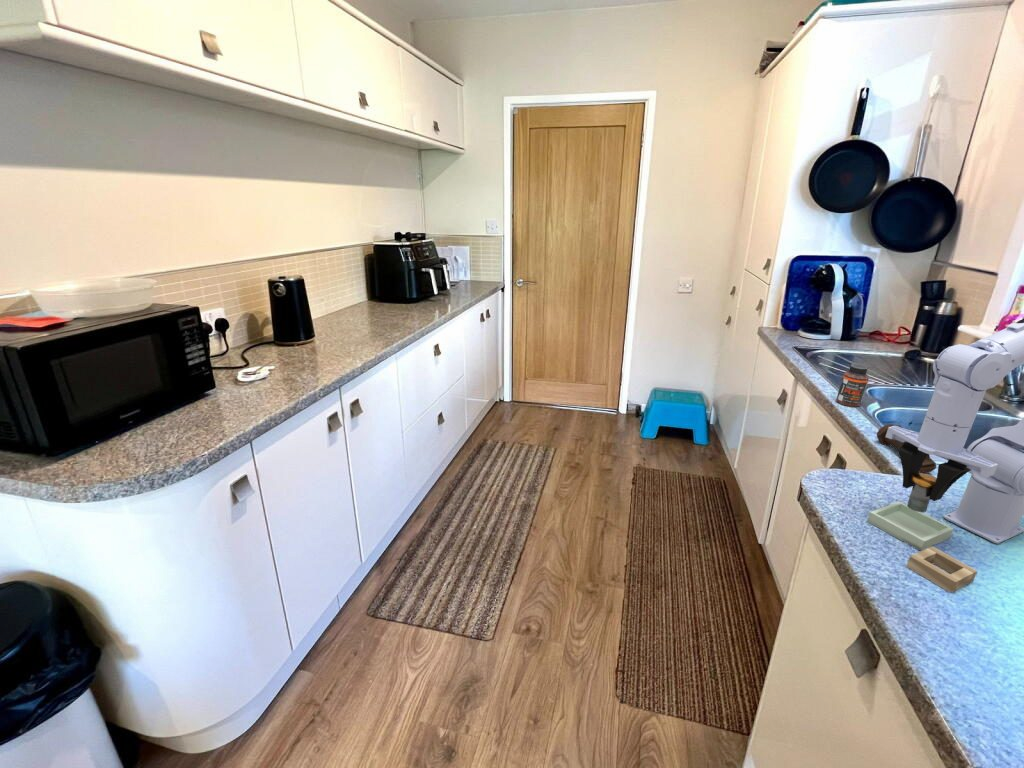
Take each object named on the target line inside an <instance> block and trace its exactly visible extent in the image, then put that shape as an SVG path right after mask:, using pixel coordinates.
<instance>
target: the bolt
mask: <svg viewBox="0 0 1024 768" xmlns="http://www.w3.org/2000/svg"><path fill="white" fill-rule="evenodd" d="M892 426H898V427H901V428H903V426H901V425H898V424H894V423H893V424H892V423H890V424H885V425H883V426H882V427H880V428H879V430H878V431H877V432H876V437H877V439H878V442H879V443H880V445H882V446H883V445H884V446H891V447H892V448H894V449H895V450H896V451H897V452H898V448H899V447H902V445H903V444H904V443H903V442H901V441H898V440H896V439H889V438H887V437H885V436H886V433H887V430H888V427H892ZM936 468H937V464H936V461H934V460H933V459H932V458H931V456H930V454H928V455H927V456H926V458H925V460H924V462H923V464H922V466H921V468H920V471H919V472H920V473H924V474H928V473H932V472H934V471H935V469H936Z"/></svg>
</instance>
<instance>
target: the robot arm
mask: <svg viewBox="0 0 1024 768" xmlns="http://www.w3.org/2000/svg"><path fill="white" fill-rule="evenodd" d="M1021 365H1024V322H1017V323H1016V322H1012V323H1010V324H1009V325H1007V326H1006V328H1003V329H1002V330H999V331H996V332H995V333H991V334H990V335H988V336H986V337H982V338H981V339H979V340H976V341H974V342H972V343H970V344H968V345H967V344H962V343H961V344H960V343H958V344H954V345H952V346H948V347H947V348H944V349H943V350H942V351H941V352H940V353H939V354H938V356H937V358H936V359H933V362H932V371H933V373H934V378H933V382H932V383H933V387H935V388H934V391H933V394H932V397H931V400H930V403H929V405H928V408H927V411H926V413H925V416H924V420H923V422H922V425H921V428H920V430H919V431H914V430H911V429H907V428H904V427H902V426H901V427H902V428H901V427H898V426H892V427H888V430H887V433H886V436H885V437H887V438H889V439H896V440H898V441H901V442H903V443H904V444H903V445H902V447H899V448H898V451H897V454H898V456H899V459H900V463H901V468H902V469H901V470H902V487H903V488H906V489H909V488H913V485H914V482H913V481H912V480H911V478H912V475H913V474H914V473H920V472H921V471H920V468H921V466H922V464H923V462H924V460H925V458H926V456H927V455H928V454H929V456H930V455H931V456H932V455H934V456H936V457H939V458H941V459H944V460H946V461H947V462H946V461H945V462H942V463H939V464H938V466H937V476H936V478H937V479H936V483H935V485H934V488H933V490H932V492H931V495H930V501H932V502H937V501H939V500H942V498H943V496H944V495H945V494H946V493H947V491H948V490H949V489H950V488H951V487H952V486H953V485H954V484H955V483H956V482H957V481H958V480H959V479H961V478H962V477H963V476H965V475H966V474H970V478H969V480H968V483H967V485H966V488H965V490H964V492H963V495H962V497H961V499H960V502H959V504H958V508H957V509H956V510H954V511H951V512H949V513H947V514H944V515H943V518H944V520H947V521H948V522H950V523H952V524H955V525H956V526H958V527H961V528H963V529H965V530H967V531H969V532H971V533H972V534H976V535H977V536H979V537H982V538H984V539H986V540H987V541H990V542H991V543H994V544H996V545H997V544H998V545H999V544H1001V543H1004V542H1005V541H1007V540H1009V539H1011V538H1013V537H1016V536H1017V535H1020V534H1021V533H1024V527H1023V526H1021V525H1020V523H1021V521H1022V519H1023V517H1024V416H1023V417H1022V418H1021V419H1020V421H1018V422H1017V423H1016V424H1015V425H1009V426H1001V427H993V428H991V429H990V430H989V431H988V432H987V433H986V434H985V435H983V436H982V437H979V438H978V439H976V440H974V441H972V442H971V443H970V444H969V445H968V446H967V448H965V444H966V442H967V439H968V437H969V435H970V432H971V430H972V427H973V424H974V423H975V422H974V421H975V419H976V416H977V414H978V411H979V409H980V407H981V406H982V405H981V404H982V402H983V399H984V397H985V394H986V393H987V390H989V389H993V388H995V387H996V386H998V385H999V384H1000V383H1001V382H1002V380H1004V378H1005V377H1006V376H1007V375H1009V374H1011V372H1012V371H1013V369H1015V368H1017V367H1021Z"/></svg>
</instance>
